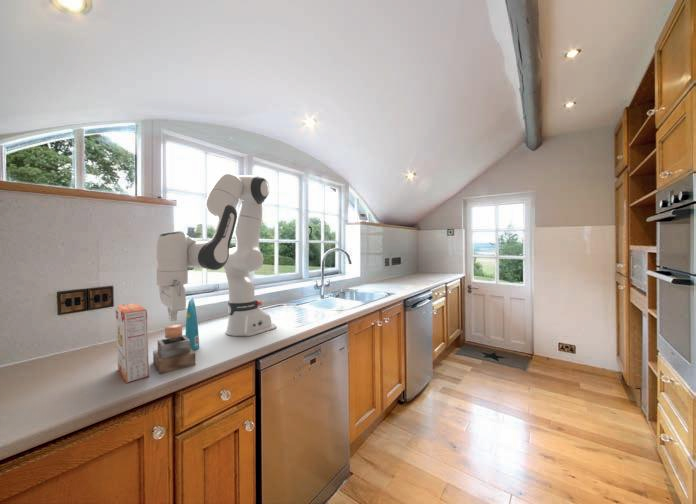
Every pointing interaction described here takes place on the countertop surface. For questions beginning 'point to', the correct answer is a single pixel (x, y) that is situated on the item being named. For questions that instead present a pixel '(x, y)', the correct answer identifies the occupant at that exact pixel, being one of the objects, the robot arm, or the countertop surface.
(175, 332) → the push button
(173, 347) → the grey stepped open box
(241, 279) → the robot arm
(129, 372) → the cracker box
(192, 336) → the tube
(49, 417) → the countertop surface
